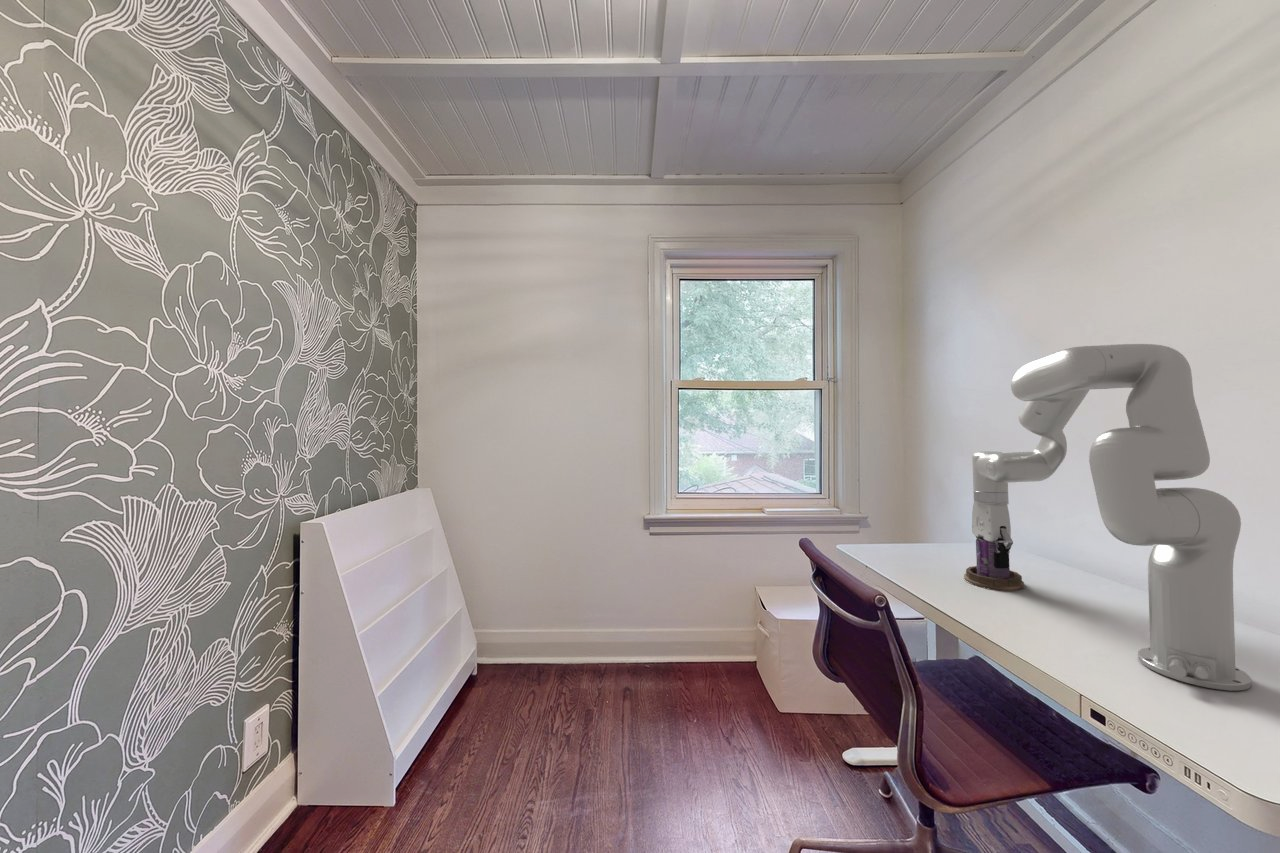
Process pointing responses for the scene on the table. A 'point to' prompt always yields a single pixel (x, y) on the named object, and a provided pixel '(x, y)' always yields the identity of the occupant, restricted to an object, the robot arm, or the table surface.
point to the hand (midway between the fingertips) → (993, 562)
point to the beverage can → (988, 560)
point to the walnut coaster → (995, 580)
